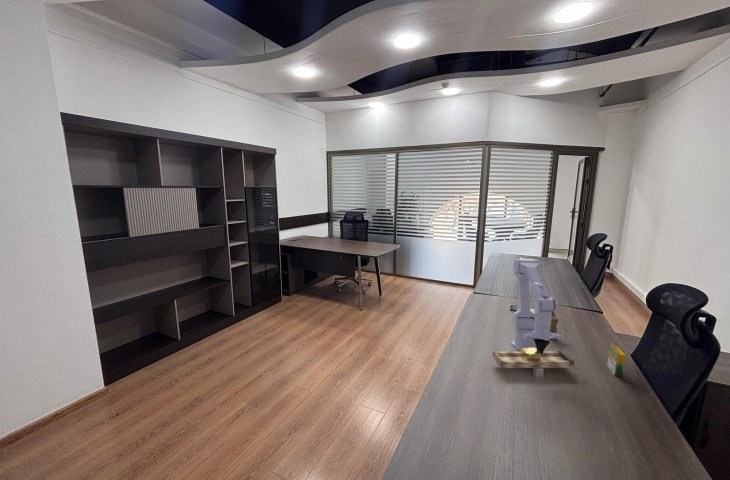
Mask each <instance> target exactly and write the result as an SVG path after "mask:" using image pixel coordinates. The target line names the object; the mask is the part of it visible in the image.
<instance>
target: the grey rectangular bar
mask: <svg viewBox="0 0 730 480" xmlns="http://www.w3.org/2000/svg"><path fill="white" fill-rule="evenodd" d="M544 369H545V368H542V367H534V368H532V370H533V371H532V376H533V377H534V378H535V379H543V378H544Z"/></svg>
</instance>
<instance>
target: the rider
mask: <svg viewBox="0 0 730 480" xmlns="http://www.w3.org/2000/svg"><path fill="white" fill-rule="evenodd" d="M520 352H521V354H520V356H521V357H522V358H523V359H524V360H525V361H541V353H540V352H539V351H538V350H537V349H536V348H521V351H520Z"/></svg>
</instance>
